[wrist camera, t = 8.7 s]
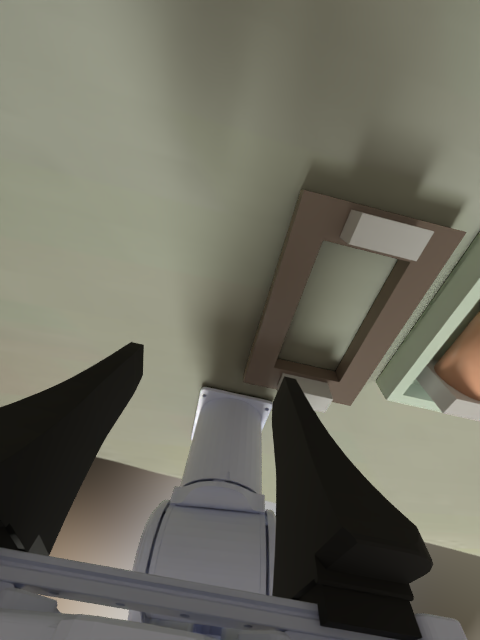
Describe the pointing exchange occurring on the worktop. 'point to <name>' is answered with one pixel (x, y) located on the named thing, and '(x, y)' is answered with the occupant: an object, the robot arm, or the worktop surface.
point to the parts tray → (434, 332)
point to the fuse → (457, 375)
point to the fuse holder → (386, 312)
